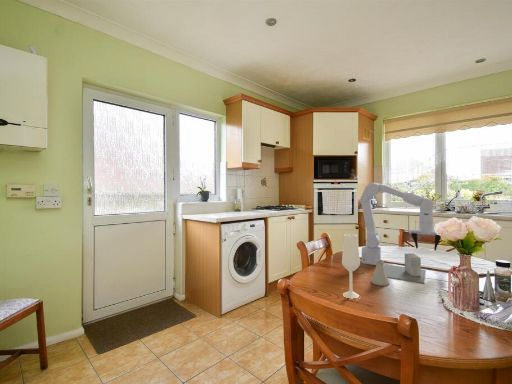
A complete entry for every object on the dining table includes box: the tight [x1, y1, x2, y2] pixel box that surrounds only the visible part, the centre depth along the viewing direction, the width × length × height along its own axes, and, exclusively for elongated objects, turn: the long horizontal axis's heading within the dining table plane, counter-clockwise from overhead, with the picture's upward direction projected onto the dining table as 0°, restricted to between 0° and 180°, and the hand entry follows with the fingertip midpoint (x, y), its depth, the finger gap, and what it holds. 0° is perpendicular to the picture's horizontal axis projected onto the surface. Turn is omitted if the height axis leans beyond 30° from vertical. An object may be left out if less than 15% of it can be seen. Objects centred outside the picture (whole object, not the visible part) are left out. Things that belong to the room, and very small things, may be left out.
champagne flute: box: [341, 233, 361, 300], centre depth 102 cm, size 7×7×24 cm
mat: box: [383, 263, 427, 285], centre depth 126 cm, size 18×20×1 cm
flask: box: [370, 259, 390, 287], centre depth 114 cm, size 7×7×10 cm
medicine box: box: [404, 252, 422, 276], centre depth 124 cm, size 8×4×9 cm, turn 168°
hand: (425, 249), depth 130 cm, fingers open, 7 cm apart
